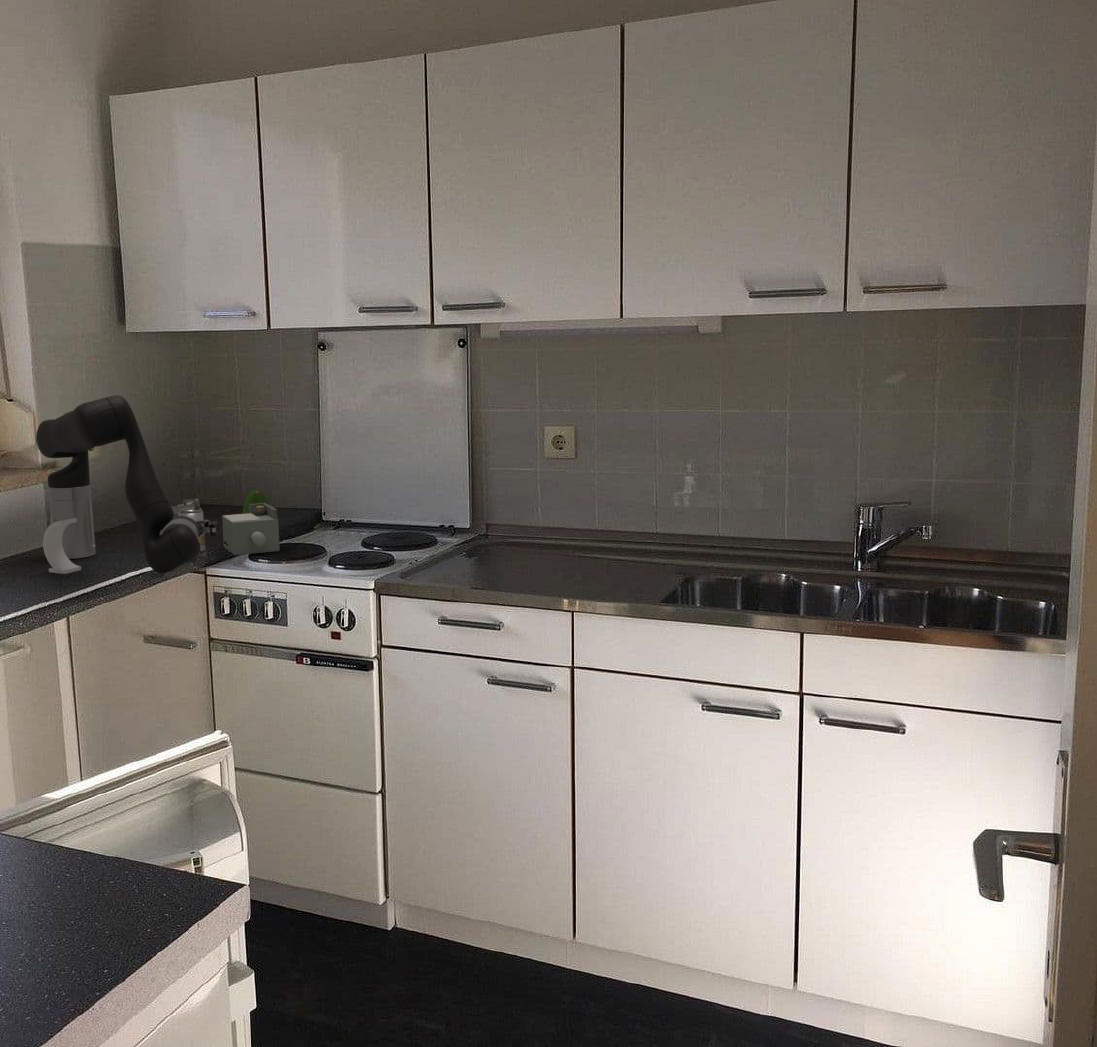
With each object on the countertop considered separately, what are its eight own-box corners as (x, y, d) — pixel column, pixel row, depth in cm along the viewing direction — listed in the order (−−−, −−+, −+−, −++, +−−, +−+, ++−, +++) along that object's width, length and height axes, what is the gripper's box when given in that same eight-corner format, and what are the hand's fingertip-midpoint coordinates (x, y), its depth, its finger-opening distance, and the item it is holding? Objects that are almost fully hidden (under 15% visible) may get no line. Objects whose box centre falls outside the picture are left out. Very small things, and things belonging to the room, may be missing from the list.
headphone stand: (65, 574, 238) (60, 521, 236) (45, 571, 241) (40, 519, 239) (81, 569, 243) (77, 518, 240) (61, 567, 245) (57, 516, 243)
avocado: (239, 537, 281) (237, 492, 279) (248, 531, 289) (246, 488, 287) (269, 537, 281) (267, 492, 279) (277, 531, 289) (275, 488, 287)
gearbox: (237, 557, 255) (235, 515, 254) (223, 546, 268) (221, 506, 266) (282, 553, 261) (280, 511, 259) (267, 542, 274) (265, 502, 272)
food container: (192, 545, 271) (190, 506, 269) (169, 545, 271) (166, 506, 269) (209, 536, 283) (206, 499, 281) (186, 536, 283) (183, 499, 281)
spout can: (183, 560, 253) (179, 502, 250) (179, 555, 258) (175, 498, 255) (208, 557, 256) (204, 500, 253) (203, 553, 261) (199, 497, 258)
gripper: (213, 517, 229) (218, 506, 245) (144, 520, 226) (153, 509, 242) (216, 551, 231) (220, 538, 246) (146, 555, 227) (155, 542, 243)
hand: (187, 524), depth 244 cm, fingers open, 8 cm apart
